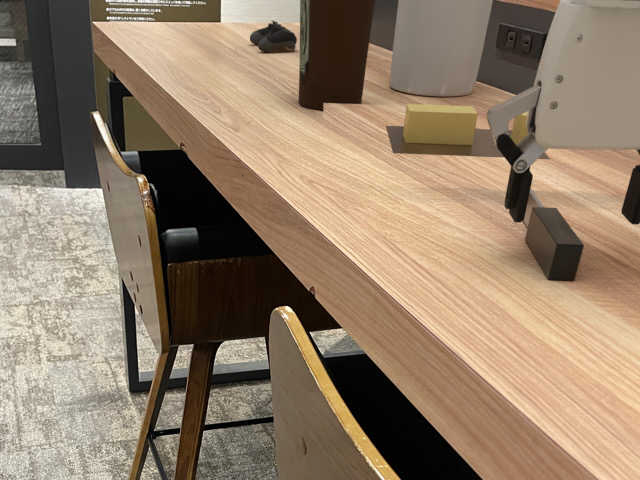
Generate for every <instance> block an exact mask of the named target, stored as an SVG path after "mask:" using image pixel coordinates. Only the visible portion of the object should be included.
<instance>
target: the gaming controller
mask: <svg viewBox="0 0 640 480" xmlns="http://www.w3.org/2000/svg"><path fill="white" fill-rule="evenodd" d="M249 41H250V43H251V44H253V45H255V46H257V48H258V50H259V51H261V52H263V53H271V52H274V51H277V50H280V49H281V48H284V47H286V48H287V49H289V50H291V51H292V52H295V51H296V47H297V46H296V45H297V41H298V37H297V35H296V34H295V33H294V32H293V31H291V30H290V29H288V28H287V27H286V26H283V25H282V24H280V23H279V22H278V21H275V20H271V22H270V23H268V24H267V26H265V27H263V28H259V29H257V30H255V31H252V33H251V34H250V35H249Z"/></svg>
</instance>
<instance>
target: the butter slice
mask: <svg viewBox="0 0 640 480" xmlns="http://www.w3.org/2000/svg"><path fill="white" fill-rule="evenodd" d="M527 112H528V111H527ZM527 112H525V113H523V114H521V115H519V116H517V117H515V118H513V125H512V129H511V130H512V134H511V139H512V140H513V141H514V143H515V144H516V145H518V144H519V143H520V142H521V141H522V140H523V139H524V138H525V137H526V136H527V135H528V134H529V132H528V131H527V128H526V119H527Z"/></svg>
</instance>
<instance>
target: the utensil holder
mask: <svg viewBox="0 0 640 480" xmlns="http://www.w3.org/2000/svg"><path fill="white" fill-rule="evenodd" d="M493 1H494V0H398V3H397V11H396V19H395V29H394V34H393V35H394V36H393V45H392V54H391V65H390V76H389V86H390V88H391V89H393V90H395V91H398V92H401V93H406V94H410V95H416V96H424V97H427V96H428V97H443V98H444V97H447V98H448V97H450V98H451V97H462V96H467V95H471V94H473V93H474V91H475V88H476V87H475V86H476V84H477V83H476V82H477V78H478V74H479V70H480V63H481V60H482V55H483V52H484V46H485V41H486V36H487V31H488V26H489V21H490V17H491V12H492V7H493Z"/></svg>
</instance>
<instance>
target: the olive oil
mask: <svg viewBox="0 0 640 480" xmlns="http://www.w3.org/2000/svg"><path fill="white" fill-rule="evenodd" d="M375 4H376V0H299V67H298V68H299V72H298V74H299V75H298V104H299V105H300V106H301V107H304V108H308V109H313V110H320V111H324V104H338V105H339V104H340V105H341V104H342V105H362V101H363V94H364V86H365V85H364V84H365V76H366V68H367V63H368V62H367V61H368V54H369V46H370V41H371V33H372V32H371V31H372V27H373V26H372V25H373V17H374V12H375V7H376V6H375Z"/></svg>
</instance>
